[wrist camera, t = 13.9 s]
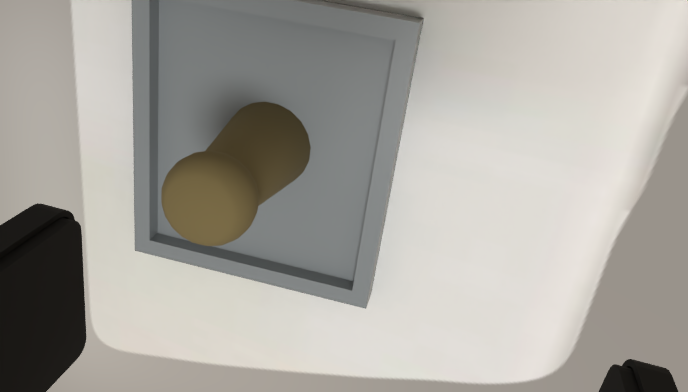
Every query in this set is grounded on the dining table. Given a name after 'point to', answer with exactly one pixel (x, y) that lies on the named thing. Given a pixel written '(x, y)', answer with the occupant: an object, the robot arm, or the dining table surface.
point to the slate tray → (293, 94)
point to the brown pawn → (235, 174)
